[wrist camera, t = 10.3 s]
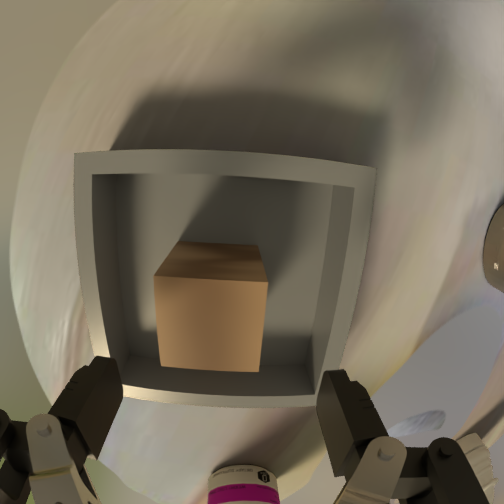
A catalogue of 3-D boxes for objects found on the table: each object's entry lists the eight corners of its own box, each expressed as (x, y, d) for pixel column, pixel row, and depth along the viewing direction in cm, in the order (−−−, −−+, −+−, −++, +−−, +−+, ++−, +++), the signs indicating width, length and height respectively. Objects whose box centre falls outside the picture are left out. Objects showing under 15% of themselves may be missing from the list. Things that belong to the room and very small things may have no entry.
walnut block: (257, 245, 18) (268, 282, 13) (252, 316, 20) (258, 372, 14) (178, 241, 18) (153, 275, 12) (179, 312, 19) (161, 365, 14)
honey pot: (461, 461, 35) (494, 516, 18) (411, 484, 34) (441, 550, 17) (487, 423, 31) (531, 484, 14) (435, 450, 31) (478, 526, 13)
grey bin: (346, 166, 18) (377, 168, 14) (313, 368, 23) (327, 404, 18) (107, 154, 17) (74, 153, 13) (122, 357, 22) (104, 392, 17)
